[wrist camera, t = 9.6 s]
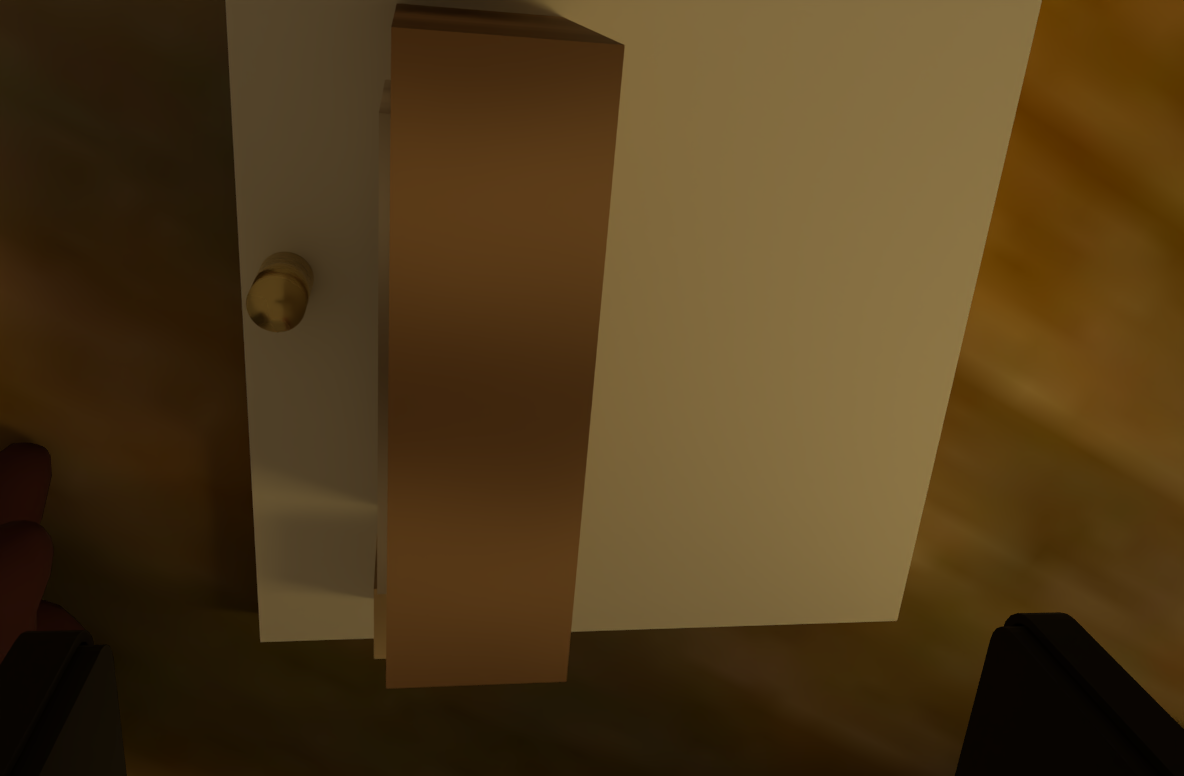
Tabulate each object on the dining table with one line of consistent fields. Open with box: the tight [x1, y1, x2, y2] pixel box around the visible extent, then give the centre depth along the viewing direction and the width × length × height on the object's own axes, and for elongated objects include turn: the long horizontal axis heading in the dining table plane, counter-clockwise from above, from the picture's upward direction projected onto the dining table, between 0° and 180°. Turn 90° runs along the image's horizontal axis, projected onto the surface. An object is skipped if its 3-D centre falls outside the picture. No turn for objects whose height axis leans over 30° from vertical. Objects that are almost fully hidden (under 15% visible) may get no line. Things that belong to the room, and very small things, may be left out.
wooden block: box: [377, 3, 625, 689], centre depth 21 cm, size 12×4×7 cm, turn 175°
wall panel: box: [225, 0, 1042, 642], centre depth 25 cm, size 20×18×1 cm
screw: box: [246, 252, 314, 332], centre depth 22 cm, size 1×1×2 cm
